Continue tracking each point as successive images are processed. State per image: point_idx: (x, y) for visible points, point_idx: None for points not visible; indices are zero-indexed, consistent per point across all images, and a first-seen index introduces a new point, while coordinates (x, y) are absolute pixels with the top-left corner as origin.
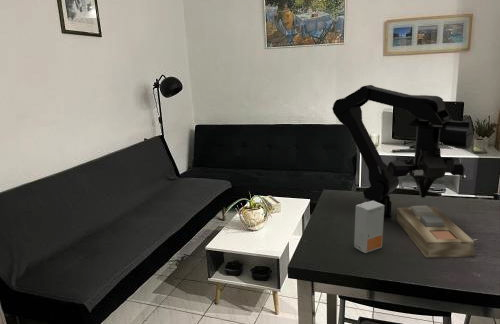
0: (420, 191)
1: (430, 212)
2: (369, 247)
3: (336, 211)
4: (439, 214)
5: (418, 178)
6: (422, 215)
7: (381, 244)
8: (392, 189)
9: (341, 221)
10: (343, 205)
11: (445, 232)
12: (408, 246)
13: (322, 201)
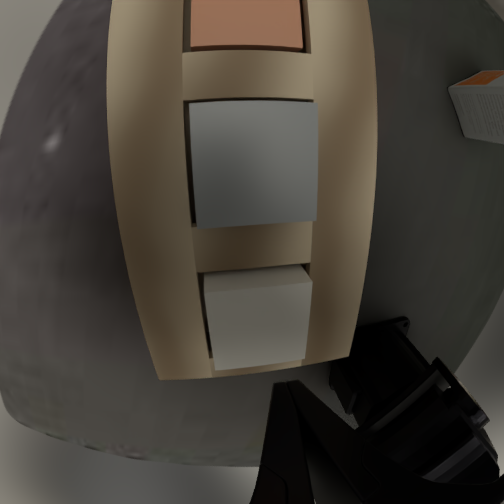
0: (333, 416)
1: (220, 288)
2: (486, 73)
3: (448, 349)
4: (158, 293)
5: (492, 486)
6: (269, 273)
7: (458, 85)
8: (405, 426)
9: (471, 288)
10: None
11: (216, 29)
12: None
13: None
